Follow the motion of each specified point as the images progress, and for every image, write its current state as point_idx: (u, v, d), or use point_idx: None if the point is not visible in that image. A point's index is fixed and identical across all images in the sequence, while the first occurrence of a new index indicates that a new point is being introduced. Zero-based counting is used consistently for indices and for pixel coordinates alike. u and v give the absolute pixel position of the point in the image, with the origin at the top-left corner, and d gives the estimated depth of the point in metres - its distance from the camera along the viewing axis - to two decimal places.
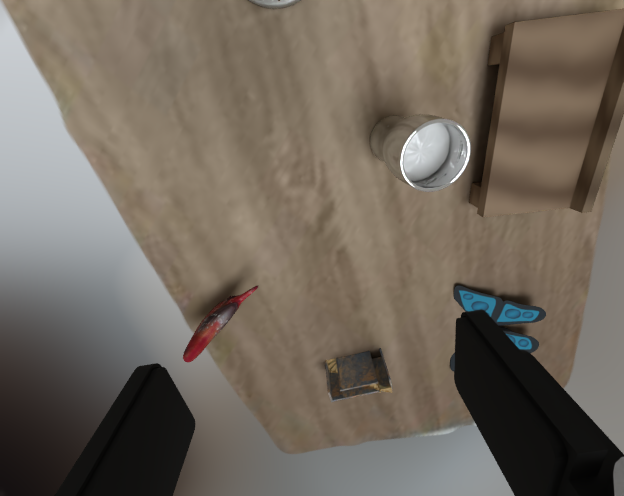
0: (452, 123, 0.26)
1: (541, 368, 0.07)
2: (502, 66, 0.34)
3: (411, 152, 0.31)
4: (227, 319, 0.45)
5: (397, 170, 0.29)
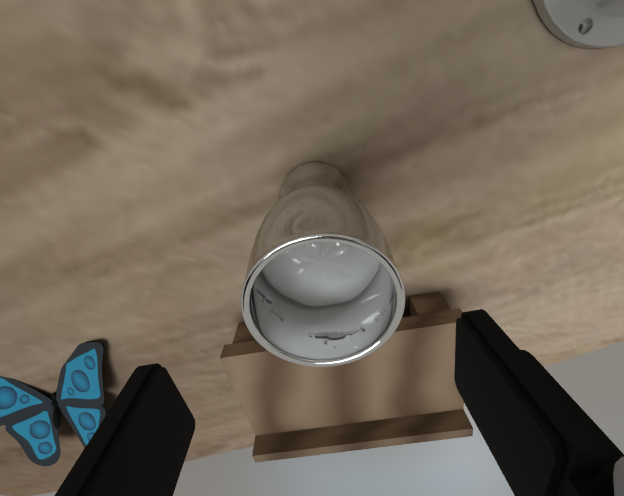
0: (394, 323, 0.12)
1: (541, 368, 0.07)
2: (418, 320, 0.26)
3: (315, 245, 0.15)
4: None
5: (279, 230, 0.12)
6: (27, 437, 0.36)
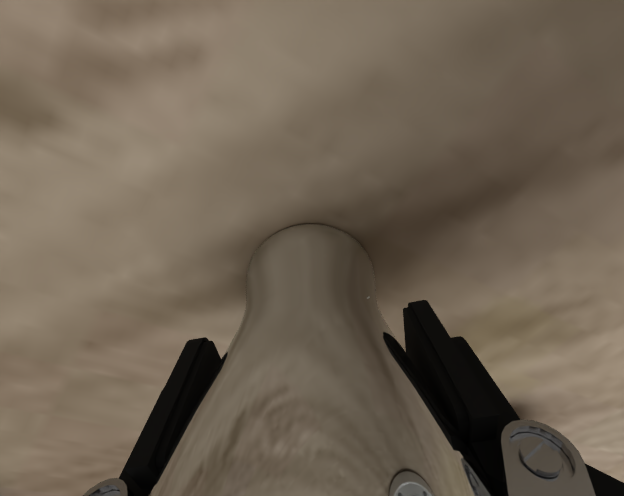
0: None
1: (471, 351, 0.08)
2: None
3: None
4: None
5: None
6: None
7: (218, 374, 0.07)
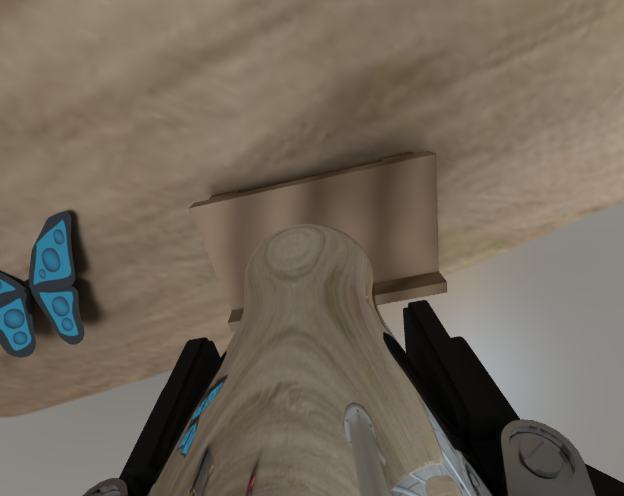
0: None
1: (471, 351, 0.08)
2: (386, 162, 0.26)
3: None
4: None
5: None
6: (1, 327, 0.35)
7: (217, 374, 0.07)
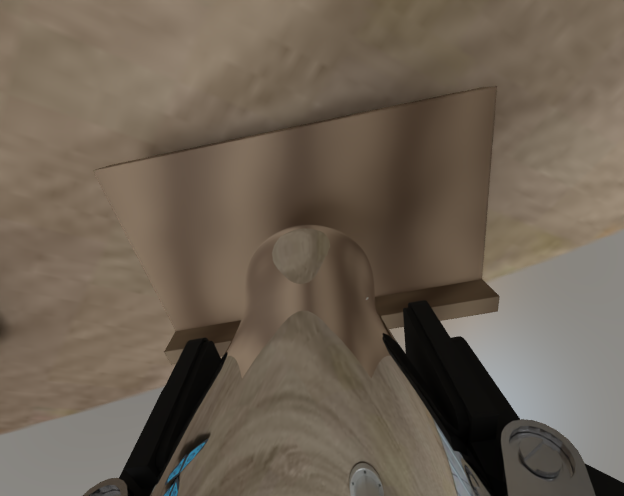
0: None
1: (471, 351, 0.08)
2: (414, 102, 0.16)
3: None
4: None
5: None
6: None
7: (217, 376, 0.07)
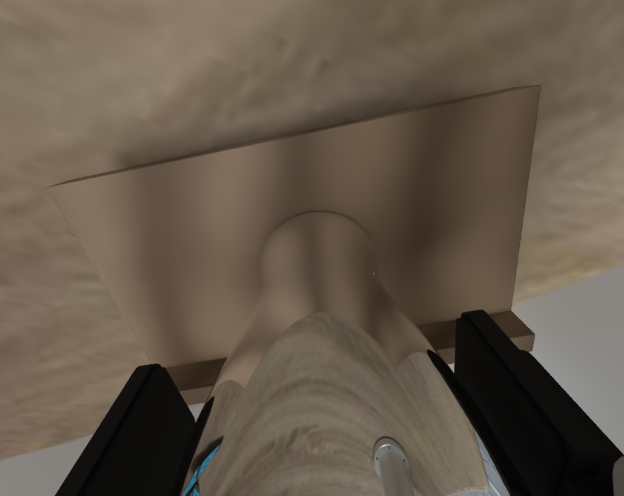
0: None
1: (541, 368, 0.07)
2: (437, 104, 0.13)
3: None
4: None
5: None
6: None
7: (250, 326, 0.08)
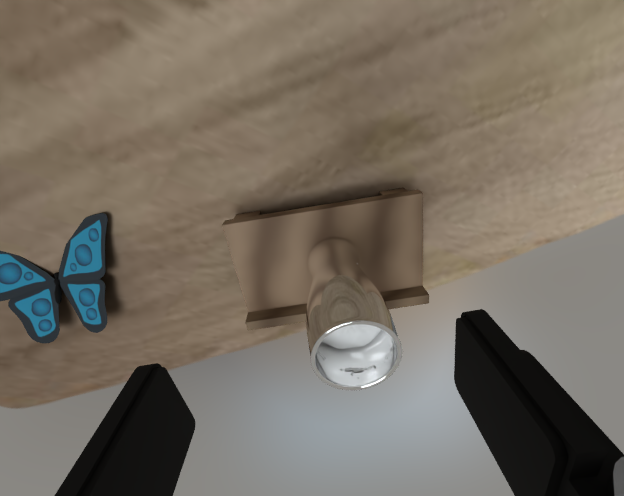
0: (395, 366, 0.21)
1: (541, 368, 0.07)
2: (384, 196, 0.32)
3: None
4: None
5: (334, 313, 0.21)
6: (28, 314, 0.39)
7: (319, 276, 0.27)
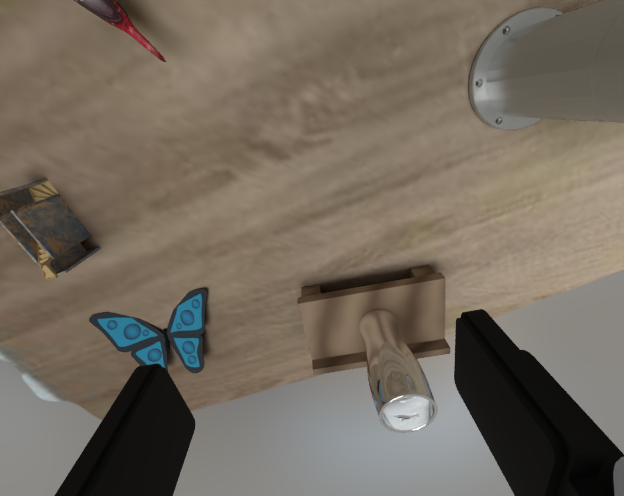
0: (433, 418, 0.33)
1: (541, 368, 0.07)
2: (416, 279, 0.44)
3: None
4: (83, 0, 0.27)
5: (393, 387, 0.33)
6: (145, 360, 0.52)
7: (375, 348, 0.39)
